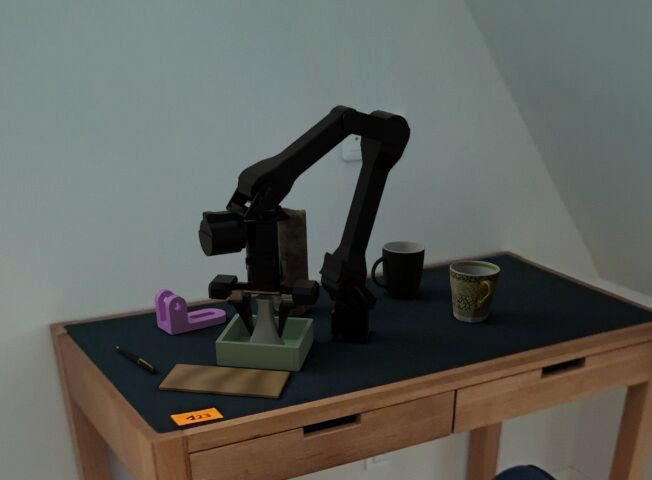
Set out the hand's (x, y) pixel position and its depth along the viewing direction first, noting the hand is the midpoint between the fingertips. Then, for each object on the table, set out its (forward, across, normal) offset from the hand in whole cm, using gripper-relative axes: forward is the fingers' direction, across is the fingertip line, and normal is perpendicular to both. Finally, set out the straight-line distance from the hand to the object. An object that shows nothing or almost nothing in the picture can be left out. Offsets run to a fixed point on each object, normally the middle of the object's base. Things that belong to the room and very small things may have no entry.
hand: (266, 336), depth 155 cm
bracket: (+3, +17, -12) cm, 21 cm away
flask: (+3, 0, 0) cm, 3 cm away
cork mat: (+3, +4, +14) cm, 15 cm away
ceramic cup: (+3, -37, -25) cm, 45 cm away
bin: (+3, 0, 0) cm, 3 cm away
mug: (+3, -20, -37) cm, 42 cm away
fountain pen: (+3, +22, +8) cm, 24 cm away
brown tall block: (+3, 0, -23) cm, 23 cm away
